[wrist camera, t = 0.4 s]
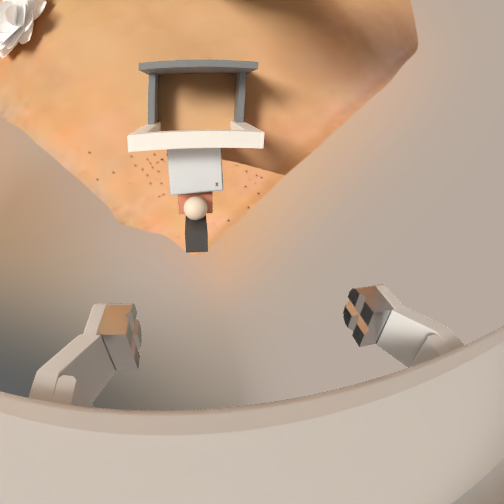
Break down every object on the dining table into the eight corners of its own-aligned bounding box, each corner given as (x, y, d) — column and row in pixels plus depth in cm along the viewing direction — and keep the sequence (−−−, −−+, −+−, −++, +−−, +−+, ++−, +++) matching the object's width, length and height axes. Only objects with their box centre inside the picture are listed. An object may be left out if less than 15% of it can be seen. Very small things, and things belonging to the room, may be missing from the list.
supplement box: (216, 129, 46) (222, 139, 35) (217, 169, 49) (224, 192, 39) (173, 132, 44) (165, 143, 34) (175, 173, 48) (170, 197, 38)
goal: (150, 69, 38) (128, 57, 24) (245, 68, 41) (270, 56, 27) (149, 133, 44) (128, 151, 30) (242, 131, 47) (263, 148, 33)
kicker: (180, 176, 48) (176, 207, 36) (209, 175, 49) (215, 206, 36) (181, 211, 51) (179, 252, 39) (209, 210, 52) (214, 251, 40)
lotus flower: (-5, 11, 19) (-28, 7, 12) (53, -20, 21) (34, -33, 14) (-8, 68, 27) (-34, 69, 20) (49, 38, 29) (26, 32, 22)
